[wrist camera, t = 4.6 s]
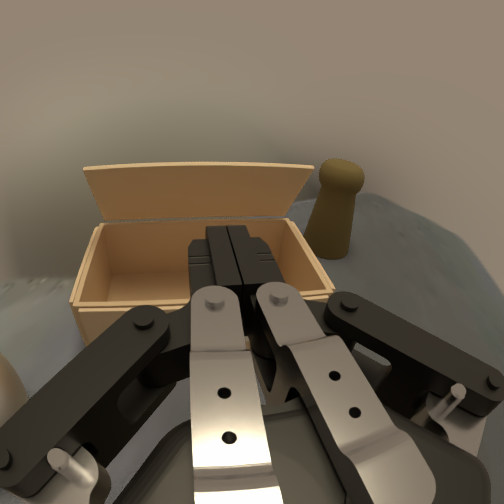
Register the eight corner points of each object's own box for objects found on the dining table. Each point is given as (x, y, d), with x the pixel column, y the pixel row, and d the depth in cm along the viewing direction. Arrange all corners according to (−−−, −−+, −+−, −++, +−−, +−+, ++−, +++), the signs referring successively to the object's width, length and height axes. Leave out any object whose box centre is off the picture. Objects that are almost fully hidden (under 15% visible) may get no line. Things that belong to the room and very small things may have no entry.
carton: (88, 366, 21) (65, 311, 18) (105, 274, 30) (96, 223, 27) (320, 349, 25) (341, 296, 22) (282, 267, 34) (292, 218, 31)
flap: (104, 220, 27) (82, 170, 19) (104, 217, 27) (83, 166, 19) (284, 216, 31) (314, 168, 23) (283, 213, 31) (313, 165, 23)
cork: (335, 265, 36) (360, 175, 30) (292, 244, 39) (308, 157, 32) (355, 246, 40) (377, 166, 34) (315, 228, 43) (332, 150, 37)
